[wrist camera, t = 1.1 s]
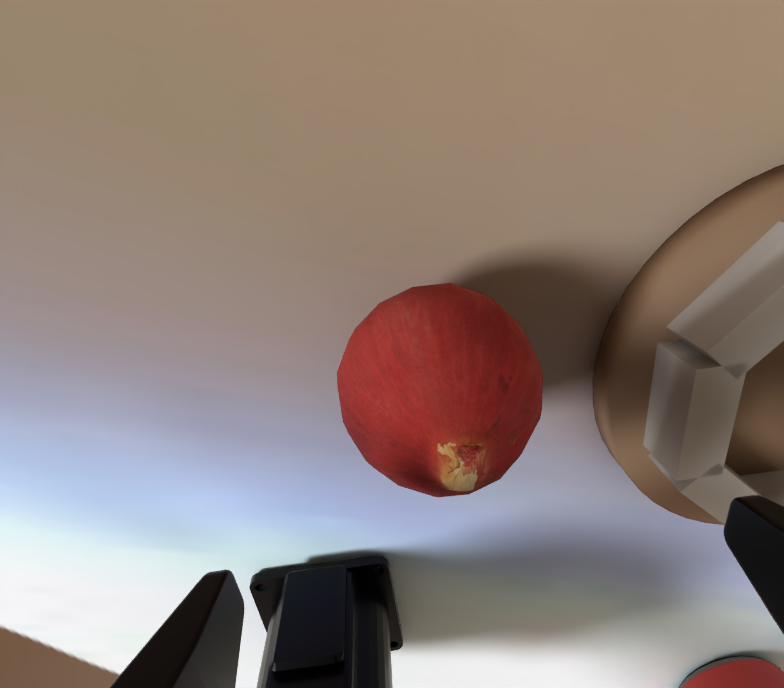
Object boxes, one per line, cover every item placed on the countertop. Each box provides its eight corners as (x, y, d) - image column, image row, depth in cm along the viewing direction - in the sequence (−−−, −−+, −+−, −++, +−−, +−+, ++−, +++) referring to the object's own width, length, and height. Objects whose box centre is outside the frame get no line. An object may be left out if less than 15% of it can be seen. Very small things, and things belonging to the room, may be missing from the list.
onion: (522, 364, 17) (637, 529, 10) (388, 424, 18) (405, 617, 11) (463, 227, 15) (559, 313, 8) (314, 304, 16) (271, 446, 8)
